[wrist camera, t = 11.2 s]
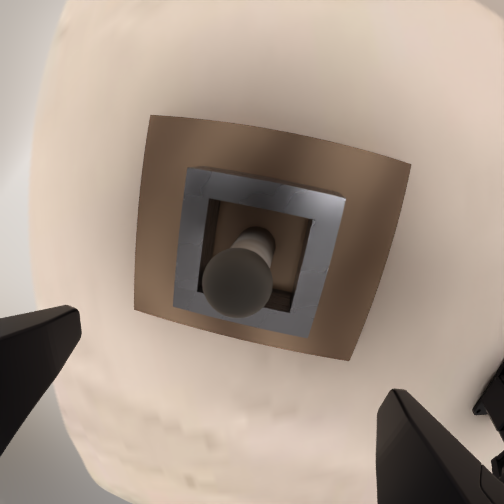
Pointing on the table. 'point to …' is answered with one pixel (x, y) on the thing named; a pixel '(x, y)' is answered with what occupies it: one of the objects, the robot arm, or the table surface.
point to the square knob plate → (266, 229)
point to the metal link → (266, 197)
